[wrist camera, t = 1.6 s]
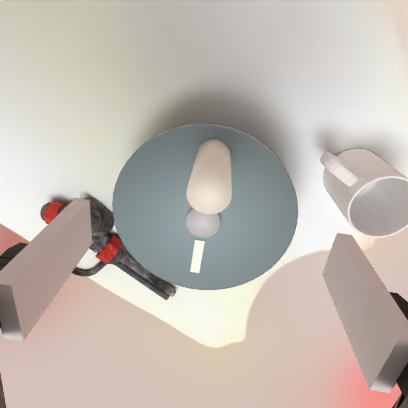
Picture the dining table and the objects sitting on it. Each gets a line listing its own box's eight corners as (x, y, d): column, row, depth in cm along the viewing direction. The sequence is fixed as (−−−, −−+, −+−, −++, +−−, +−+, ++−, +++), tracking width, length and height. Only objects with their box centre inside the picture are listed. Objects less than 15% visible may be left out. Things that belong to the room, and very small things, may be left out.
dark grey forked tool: (30, 224, 55) (70, 175, 47) (144, 302, 63) (193, 270, 56) (6, 249, 50) (47, 198, 42) (134, 330, 58) (187, 299, 50)
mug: (393, 170, 44) (437, 203, 34) (349, 209, 47) (379, 249, 38) (331, 116, 41) (361, 137, 32) (289, 161, 44) (305, 192, 35)
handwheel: (270, 293, 44) (283, 369, 33) (115, 268, 44) (80, 337, 33) (319, 140, 34) (360, 182, 23) (118, 108, 34) (69, 135, 23)
